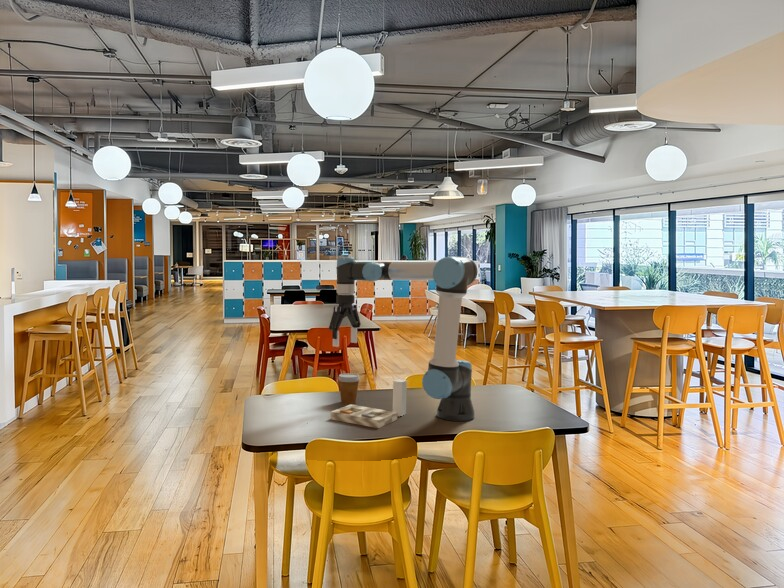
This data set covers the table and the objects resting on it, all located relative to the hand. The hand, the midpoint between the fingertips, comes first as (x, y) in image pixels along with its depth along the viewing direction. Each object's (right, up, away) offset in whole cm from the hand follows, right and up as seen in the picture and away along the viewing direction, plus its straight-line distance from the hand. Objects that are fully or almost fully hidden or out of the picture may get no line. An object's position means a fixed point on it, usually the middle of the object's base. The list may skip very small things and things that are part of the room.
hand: (345, 344), depth 260 cm
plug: (+23, -28, -9) cm, 37 cm away
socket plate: (+9, -28, -17) cm, 34 cm away
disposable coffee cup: (+1, -26, +9) cm, 28 cm away
